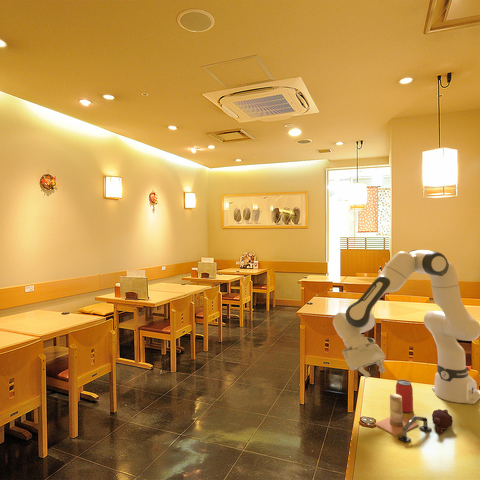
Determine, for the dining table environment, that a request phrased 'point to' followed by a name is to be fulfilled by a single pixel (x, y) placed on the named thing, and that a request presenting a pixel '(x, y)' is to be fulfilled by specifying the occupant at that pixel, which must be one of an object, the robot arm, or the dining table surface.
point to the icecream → (441, 420)
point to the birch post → (396, 410)
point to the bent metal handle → (411, 421)
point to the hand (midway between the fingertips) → (375, 374)
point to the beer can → (405, 395)
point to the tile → (392, 429)
